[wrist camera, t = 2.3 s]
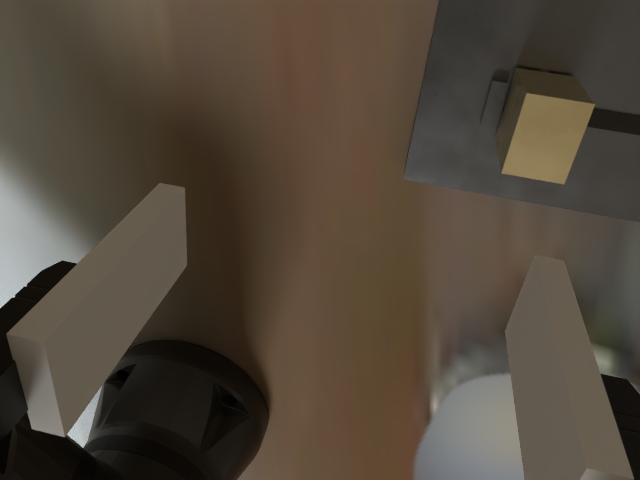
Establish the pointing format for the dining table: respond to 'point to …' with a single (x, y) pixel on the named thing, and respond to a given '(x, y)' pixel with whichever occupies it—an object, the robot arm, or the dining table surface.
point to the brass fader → (542, 125)
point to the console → (493, 87)
